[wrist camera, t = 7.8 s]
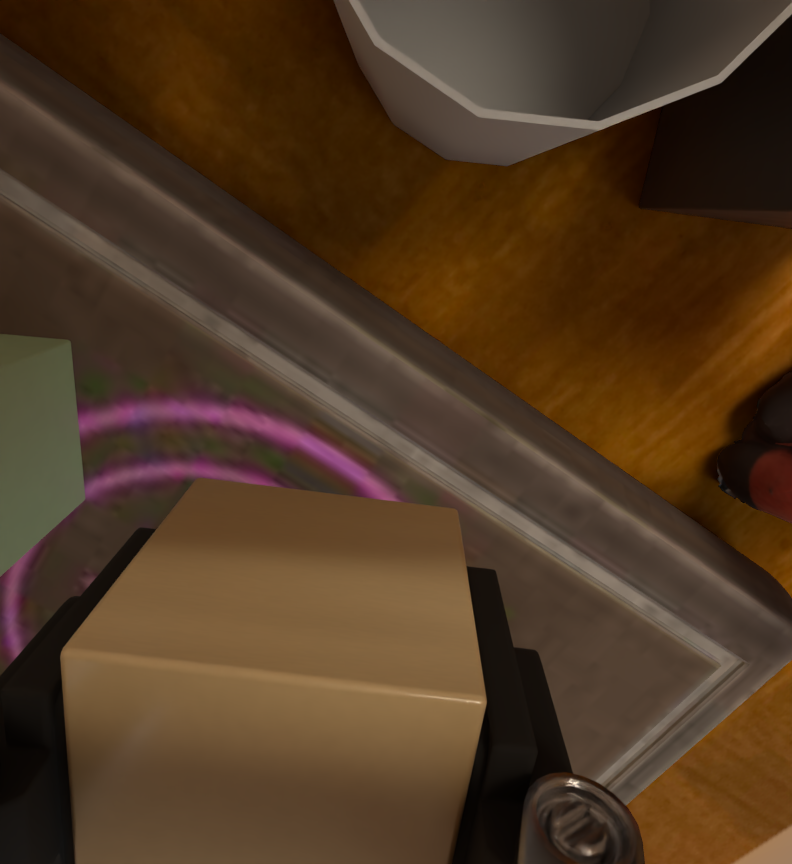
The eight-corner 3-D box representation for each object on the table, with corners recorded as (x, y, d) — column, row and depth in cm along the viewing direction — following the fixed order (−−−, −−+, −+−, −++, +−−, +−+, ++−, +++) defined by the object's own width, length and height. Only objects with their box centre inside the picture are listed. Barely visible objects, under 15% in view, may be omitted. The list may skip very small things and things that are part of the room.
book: (-239, 555, 25) (-392, 638, 20) (-25, 3, 18) (-178, -67, 13) (401, 880, 30) (400, 1006, 25) (744, 545, 24) (828, 631, 19)
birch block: (195, 474, 11) (55, 651, 7) (458, 506, 11) (489, 701, 7) (192, 685, 12) (77, 940, 8) (422, 712, 13) (428, 977, 8)
